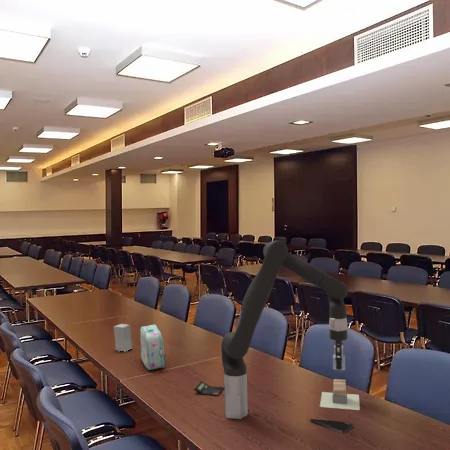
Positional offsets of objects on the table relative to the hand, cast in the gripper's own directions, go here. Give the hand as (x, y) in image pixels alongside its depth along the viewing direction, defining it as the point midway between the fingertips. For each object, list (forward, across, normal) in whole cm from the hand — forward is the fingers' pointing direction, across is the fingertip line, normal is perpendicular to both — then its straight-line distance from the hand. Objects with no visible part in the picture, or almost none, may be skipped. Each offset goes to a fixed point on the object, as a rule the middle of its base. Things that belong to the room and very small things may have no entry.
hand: (339, 366), depth 196 cm
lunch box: (+16, -31, -101) cm, 107 cm away
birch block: (+11, 0, 0) cm, 11 cm away
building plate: (+15, 0, 0) cm, 15 cm away
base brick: (+15, 0, 0) cm, 15 cm away
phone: (+16, +21, -3) cm, 27 cm away
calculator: (+16, -1, -59) cm, 61 cm away
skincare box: (+16, -52, -130) cm, 141 cm away
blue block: (0, 0, 0) cm, 0 cm away
